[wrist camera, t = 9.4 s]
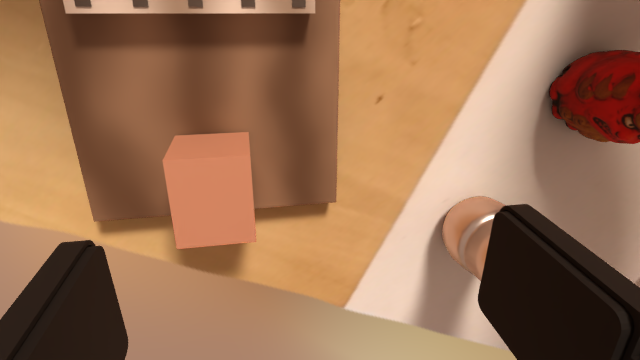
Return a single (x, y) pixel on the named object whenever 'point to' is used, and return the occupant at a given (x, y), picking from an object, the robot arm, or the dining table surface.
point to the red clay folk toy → (601, 96)
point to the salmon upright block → (210, 189)
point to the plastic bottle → (470, 232)
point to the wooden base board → (198, 93)
